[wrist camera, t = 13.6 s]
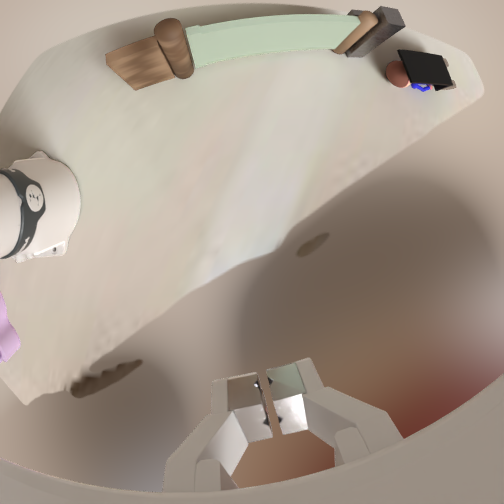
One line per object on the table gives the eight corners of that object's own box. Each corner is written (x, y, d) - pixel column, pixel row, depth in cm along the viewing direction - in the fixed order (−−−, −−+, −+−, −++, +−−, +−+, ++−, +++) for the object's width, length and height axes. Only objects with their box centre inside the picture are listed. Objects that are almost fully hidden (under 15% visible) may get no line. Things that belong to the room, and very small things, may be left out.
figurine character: (426, 64, 38) (374, 60, 36) (452, 55, 30) (401, 46, 29) (437, 94, 40) (387, 95, 38) (464, 88, 32) (416, 84, 30)
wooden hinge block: (136, 94, 35) (100, 63, 21) (133, 78, 34) (98, 43, 20) (195, 76, 35) (183, 34, 22) (192, 60, 34) (179, 15, 21)
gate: (196, 72, 34) (187, 37, 23) (193, 60, 34) (183, 22, 22) (346, 54, 35) (380, 25, 24) (342, 42, 34) (374, 11, 23)
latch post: (334, 57, 36) (372, 21, 22) (327, 37, 35) (361, -2, 21) (362, 57, 36) (405, 26, 22) (355, 38, 35) (395, 4, 21)
